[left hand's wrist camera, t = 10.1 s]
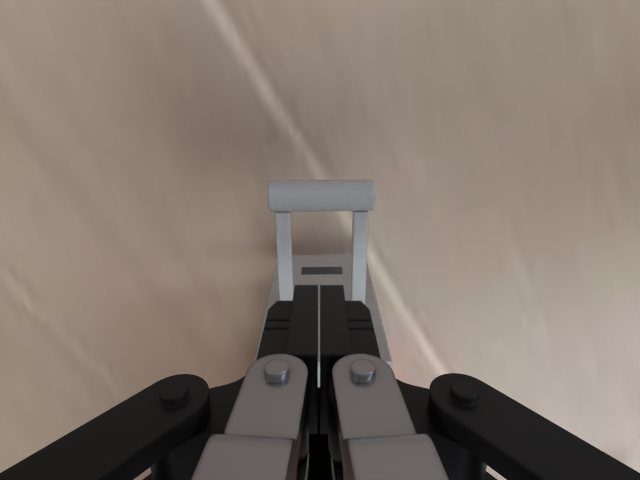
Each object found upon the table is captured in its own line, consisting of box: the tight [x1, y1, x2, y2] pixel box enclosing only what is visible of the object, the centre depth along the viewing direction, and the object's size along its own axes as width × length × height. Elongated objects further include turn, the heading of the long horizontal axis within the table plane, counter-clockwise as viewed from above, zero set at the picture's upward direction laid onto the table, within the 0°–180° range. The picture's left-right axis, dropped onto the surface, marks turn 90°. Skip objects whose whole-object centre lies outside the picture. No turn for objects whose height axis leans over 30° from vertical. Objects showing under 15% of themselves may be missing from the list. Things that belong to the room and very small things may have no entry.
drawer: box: [254, 180, 392, 480], centre depth 21 cm, size 22×5×9 cm, turn 1°
